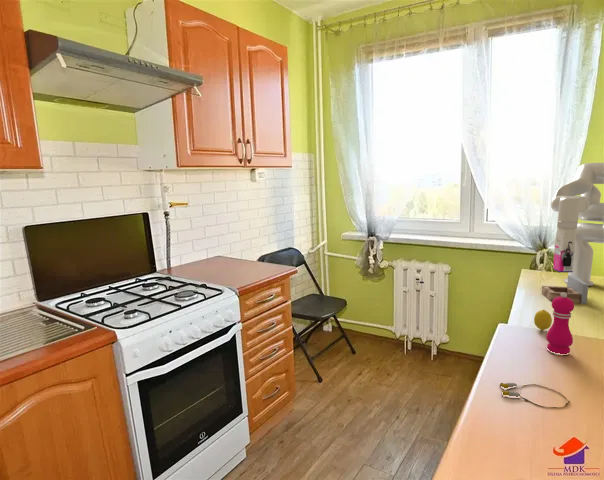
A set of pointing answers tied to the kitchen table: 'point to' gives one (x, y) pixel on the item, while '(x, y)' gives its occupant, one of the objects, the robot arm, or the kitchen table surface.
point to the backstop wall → (578, 287)
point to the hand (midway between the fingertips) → (563, 264)
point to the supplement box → (561, 261)
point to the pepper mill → (560, 325)
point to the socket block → (555, 291)
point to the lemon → (542, 320)
